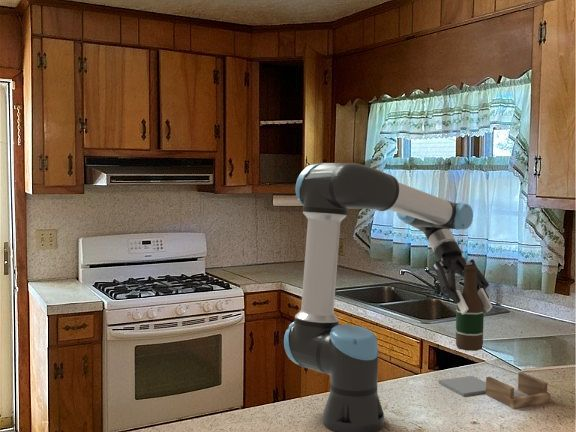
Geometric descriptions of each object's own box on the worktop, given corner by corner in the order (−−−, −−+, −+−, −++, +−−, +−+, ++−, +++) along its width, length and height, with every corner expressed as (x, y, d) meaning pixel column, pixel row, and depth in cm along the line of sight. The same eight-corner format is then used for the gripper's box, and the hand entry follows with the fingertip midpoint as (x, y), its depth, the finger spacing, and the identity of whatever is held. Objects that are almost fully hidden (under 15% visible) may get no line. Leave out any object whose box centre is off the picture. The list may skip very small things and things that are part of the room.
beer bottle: (464, 352, 177) (466, 267, 176) (450, 344, 185) (451, 263, 183) (488, 350, 179) (490, 266, 178) (473, 343, 187) (475, 262, 185)
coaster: (463, 396, 175) (463, 393, 175) (438, 382, 186) (438, 380, 186) (498, 391, 179) (498, 388, 179) (472, 378, 190) (472, 375, 190)
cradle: (513, 408, 166) (513, 389, 166) (485, 394, 177) (486, 377, 176) (550, 402, 170) (550, 384, 170) (521, 389, 181) (521, 372, 181)
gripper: (467, 253, 198) (500, 315, 184) (411, 256, 191) (441, 320, 177) (478, 238, 193) (513, 300, 179) (421, 240, 186) (452, 305, 172)
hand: (477, 310), depth 178 cm, fingers closed on beer bottle, 7 cm apart
